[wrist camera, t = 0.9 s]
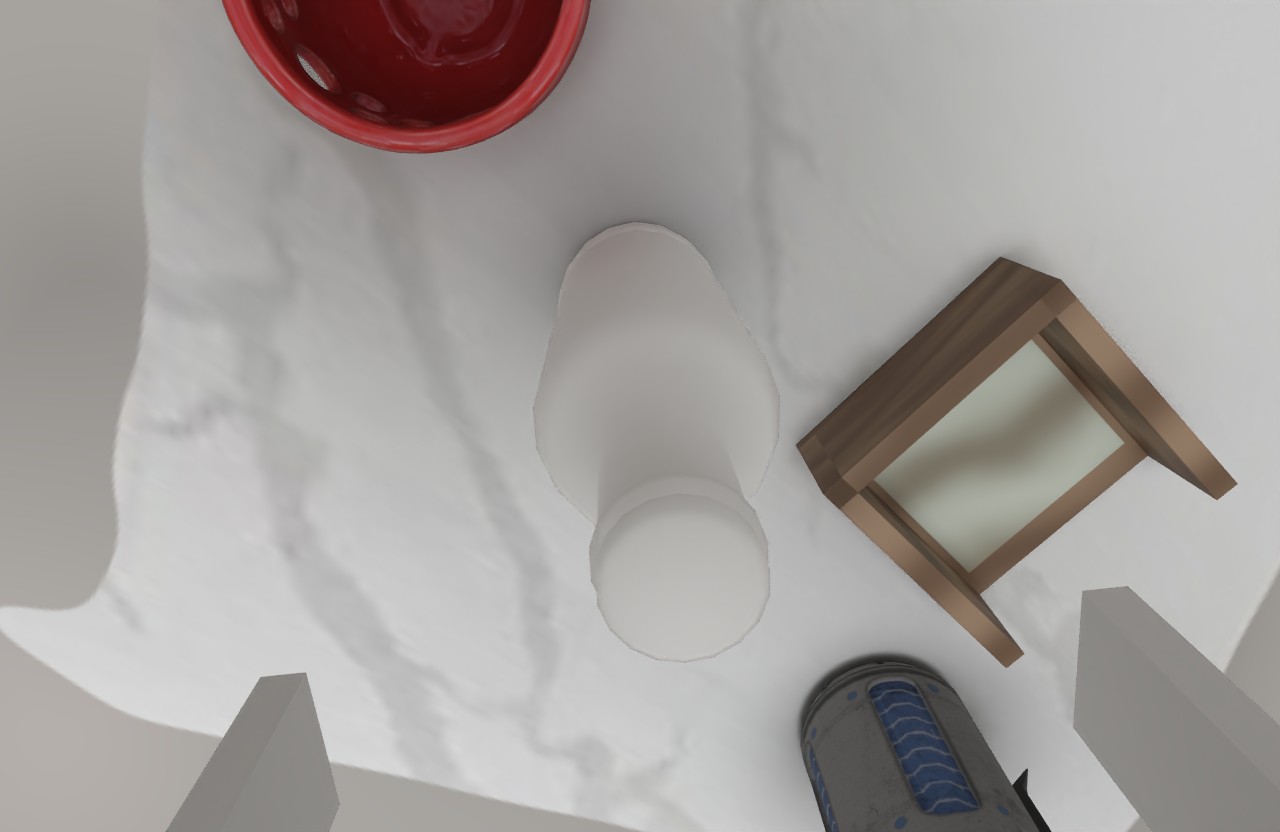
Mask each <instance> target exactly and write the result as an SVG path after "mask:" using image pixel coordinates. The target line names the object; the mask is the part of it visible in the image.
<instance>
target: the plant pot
mask: <svg viewBox="0 0 1280 832" xmlns="http://www.w3.org/2000/svg"><path fill="white" fill-rule="evenodd" d="M222 2H223V6H224V8H225V11H226V13H227V16H228V19H229V21H230V23H231V25H232V27H233V29H234V31H235V33H236V35H237V37H238V38H239V40H240V42H241V44H242V46H243V47H244V49H245V50H246V52H247V54H248V55H249V57H250V58H251V59H252V61H253V62H254V64H255V65H256V67H257V68H258V69H259V71H260V72H261V73H262V75H263V76H264V77H265V78H266V79H267V80H268V82H269V83H270V84H271V85H272V86H273V87H274V88H275V89H276V90H277V91H278V92H279V93H280V94H281V95H282V96H283V97H284V98H285V99H286V100H287V101H288V102H289V103H290V104H292V105H293V106H294V107H295V108H296V109H298V110H299V111H300V112H301V113H303V114H304V115H305V116H307V117H308V118H310V119H311V120H313V121H314V122H316V123H317V124H319V125H321V126H323V127H324V128H326V129H328V130H329V131H331V132H333V133H335V134H338V135H340V136H342V137H344V138H347V139H349V140H352V141H355V142H358V143H361V144H364V145H367V146H370V147H374V148H377V149H381V150H386V151H392V152H398V153H436V152H444V151H450V150H454V149H459V148H463V147H467V146H470V145H473V144H476V143H479V142H482V141H484V140H487V139H489V138H491V137H493V136H496V135H498V134H500V133H502V132H503V131H505V130H507V129H509V128H510V127H512V126H514V125H515V124H517V123H518V122H519V121H521V120H522V119H524V118H525V117H527V116H528V115H529V114H530V113H532V112H533V111H534V110H535V109H536V108H537V107H538V106H539V105H540V104H541V103H542V102H543V101H544V100H545V99H546V98H547V97H548V96H549V94H550V93H551V92H552V91H553V90H554V88H555V87H556V86H557V84H558V83H559V82H560V80H561V79H562V77H563V75H564V74H565V72H566V71H567V69H568V67H569V65H570V63H571V61H572V59H573V57H574V55H575V53H576V51H577V49H578V46H579V44H580V41H581V39H582V36H583V33H584V30H585V26H586V23H587V19H588V14H589V9H590V3H591V0H222ZM283 4H284V5H283ZM284 7H285V8H284ZM297 54H298V55H299V56H300V57H301V58H303V59H304V60H305V61H306V62H307V63H308V64H309V65H310V66H311V67H312V68H313V69H314V70H315V72H316V73H317V74H318V75H319V77H320V78H321V79H322V81H323V82H324V83H325V85H326V86H327V88H328V90H327V89H324V88H323V87H321V86H320V85H319V84H318V83H316V82H315V81H314V80H313V79H312V78H311V77H310V76H309V74H308V73H307V72H306V71H305V70H304V68H303V66H302V65H301V63H300V61H299V59H298V56H297Z"/></svg>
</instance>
